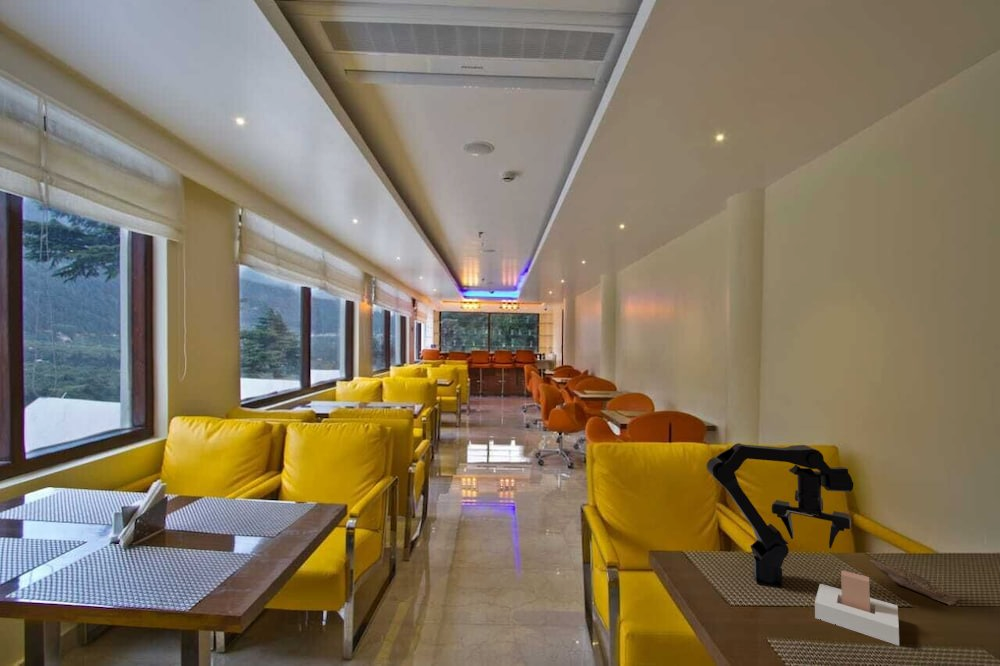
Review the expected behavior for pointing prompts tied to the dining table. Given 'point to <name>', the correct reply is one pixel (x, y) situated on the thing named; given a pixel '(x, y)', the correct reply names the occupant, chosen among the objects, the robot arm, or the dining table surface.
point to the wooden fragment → (916, 583)
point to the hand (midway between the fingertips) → (810, 543)
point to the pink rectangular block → (855, 591)
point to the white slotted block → (858, 615)
